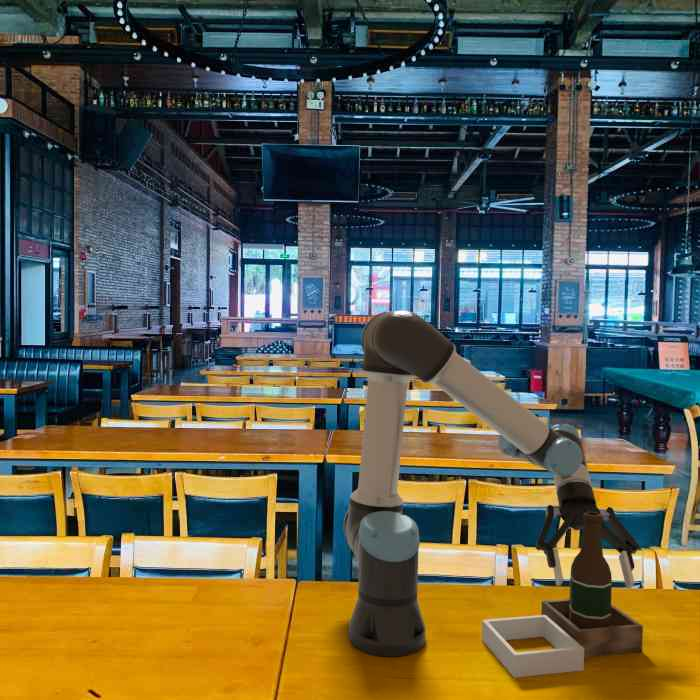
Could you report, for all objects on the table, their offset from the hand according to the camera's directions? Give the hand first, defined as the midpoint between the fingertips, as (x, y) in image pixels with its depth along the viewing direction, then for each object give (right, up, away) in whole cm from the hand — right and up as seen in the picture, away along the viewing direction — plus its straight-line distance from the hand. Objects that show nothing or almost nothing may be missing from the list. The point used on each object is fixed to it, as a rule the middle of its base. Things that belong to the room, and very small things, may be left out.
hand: (595, 584), depth 123 cm
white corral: (-14, -11, -4) cm, 19 cm away
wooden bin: (0, -12, +3) cm, 12 cm away
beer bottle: (0, -11, +3) cm, 11 cm away
